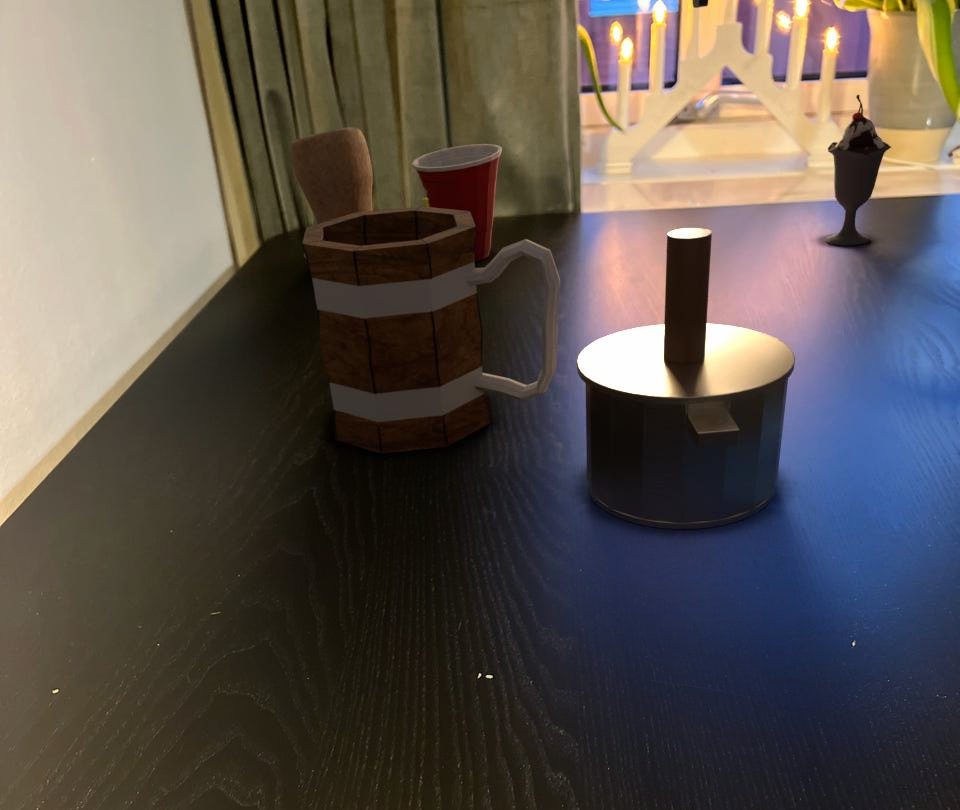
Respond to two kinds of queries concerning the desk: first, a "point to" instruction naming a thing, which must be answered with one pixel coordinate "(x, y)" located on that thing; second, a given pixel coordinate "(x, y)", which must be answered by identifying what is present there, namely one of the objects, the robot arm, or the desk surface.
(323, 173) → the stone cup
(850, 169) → the sundae
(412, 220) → the mug
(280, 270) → the desk surface
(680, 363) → the lid
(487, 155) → the plastic cup
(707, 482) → the pot
